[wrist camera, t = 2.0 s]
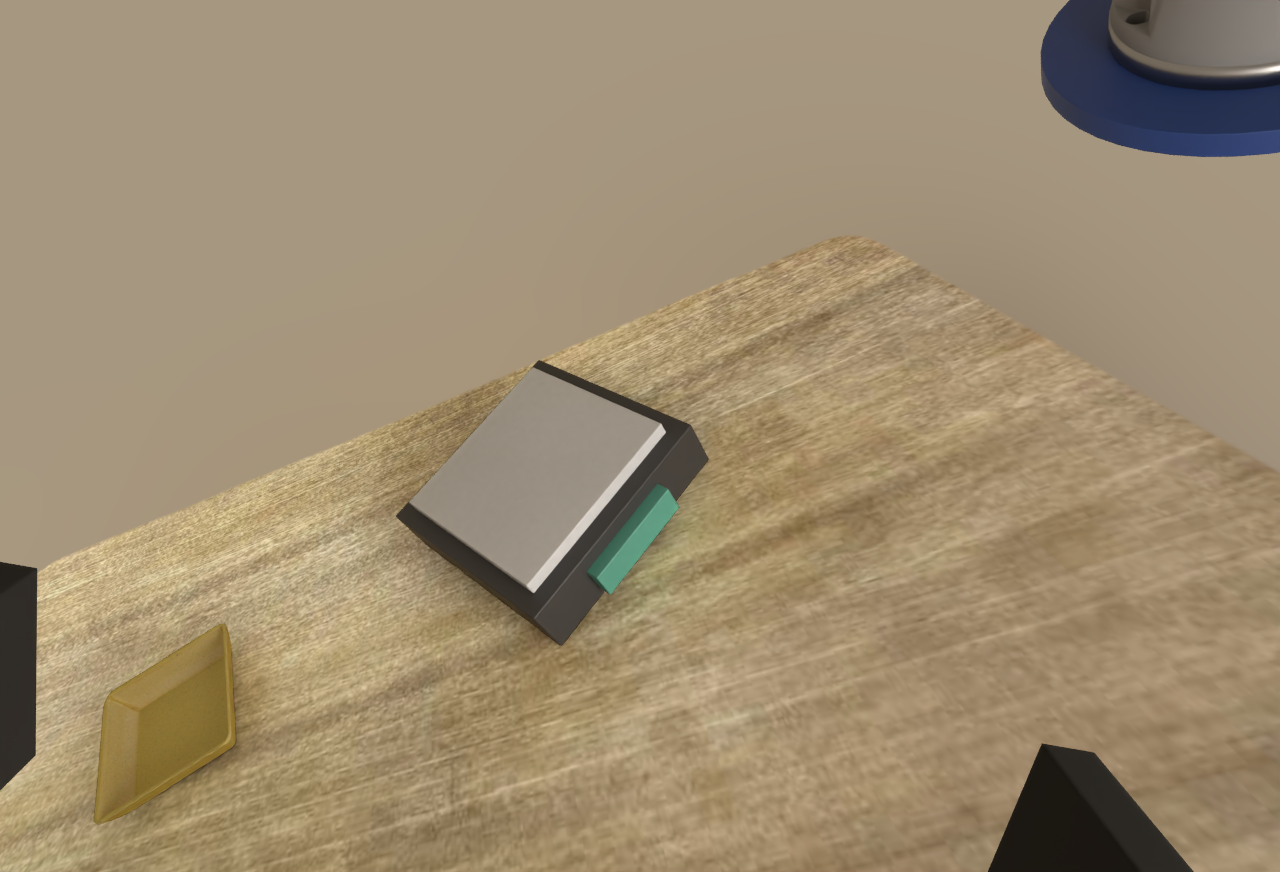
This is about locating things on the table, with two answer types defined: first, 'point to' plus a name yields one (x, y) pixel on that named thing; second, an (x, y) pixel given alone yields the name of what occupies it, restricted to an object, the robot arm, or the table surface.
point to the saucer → (165, 724)
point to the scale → (556, 495)
